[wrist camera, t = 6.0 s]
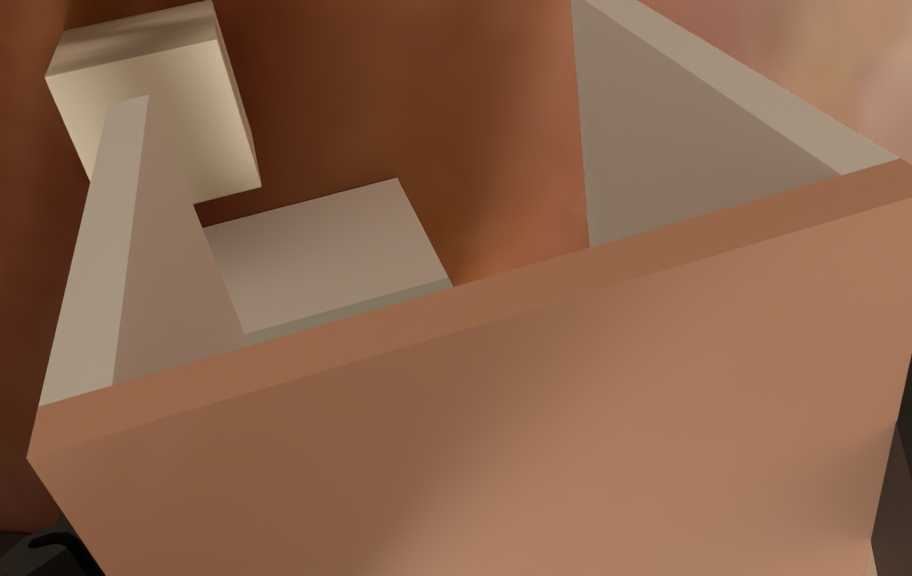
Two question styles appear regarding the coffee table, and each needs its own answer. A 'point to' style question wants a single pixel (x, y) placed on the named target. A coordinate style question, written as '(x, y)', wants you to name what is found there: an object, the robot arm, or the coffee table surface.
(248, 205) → the coffee table surface
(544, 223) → the coffee table surface
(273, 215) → the pale green cube
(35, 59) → the coffee table surface
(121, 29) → the block
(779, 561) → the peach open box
